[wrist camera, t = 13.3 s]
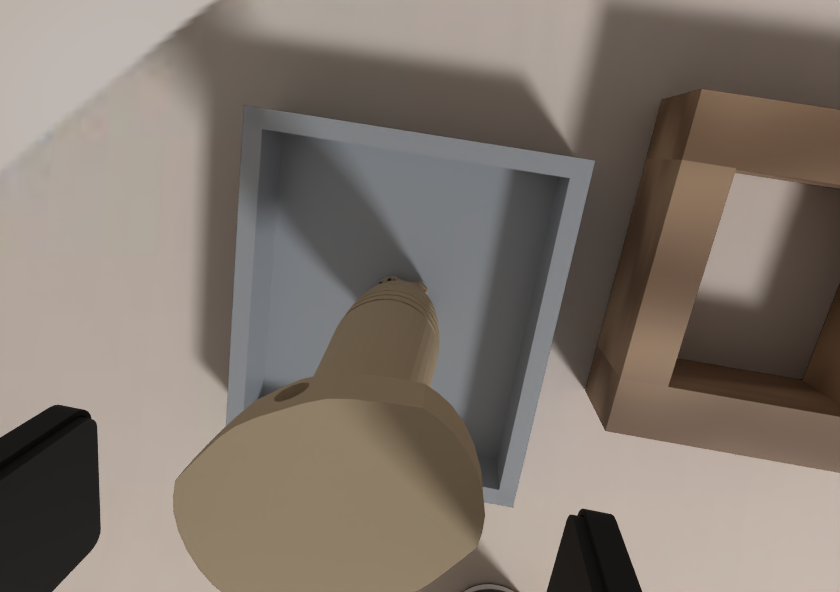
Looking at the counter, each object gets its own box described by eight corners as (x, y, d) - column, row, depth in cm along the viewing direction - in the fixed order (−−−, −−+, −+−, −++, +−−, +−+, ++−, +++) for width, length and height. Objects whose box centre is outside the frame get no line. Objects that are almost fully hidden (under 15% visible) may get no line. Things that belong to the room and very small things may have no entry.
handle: (320, 280, 25) (135, 454, 11) (448, 236, 24) (436, 362, 10) (357, 369, 26) (234, 637, 12) (480, 331, 25) (514, 571, 11)
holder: (661, 99, 23) (701, 88, 19) (946, 142, 22) (1046, 140, 18) (585, 390, 26) (605, 431, 23) (825, 432, 26) (888, 481, 22)
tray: (274, 111, 24) (243, 104, 21) (576, 159, 24) (595, 160, 20) (252, 418, 29) (224, 453, 25) (507, 464, 28) (512, 507, 25)
